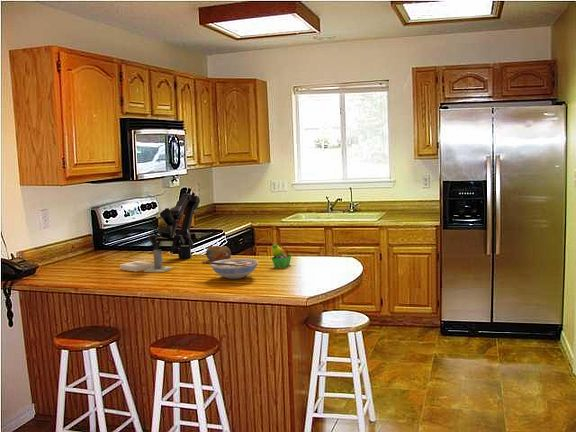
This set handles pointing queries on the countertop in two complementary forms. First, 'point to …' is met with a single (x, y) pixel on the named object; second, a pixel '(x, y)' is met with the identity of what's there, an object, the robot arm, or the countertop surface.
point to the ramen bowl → (233, 267)
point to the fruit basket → (280, 257)
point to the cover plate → (136, 266)
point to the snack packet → (218, 253)
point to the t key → (157, 259)
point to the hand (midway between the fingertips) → (162, 252)
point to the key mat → (158, 269)
